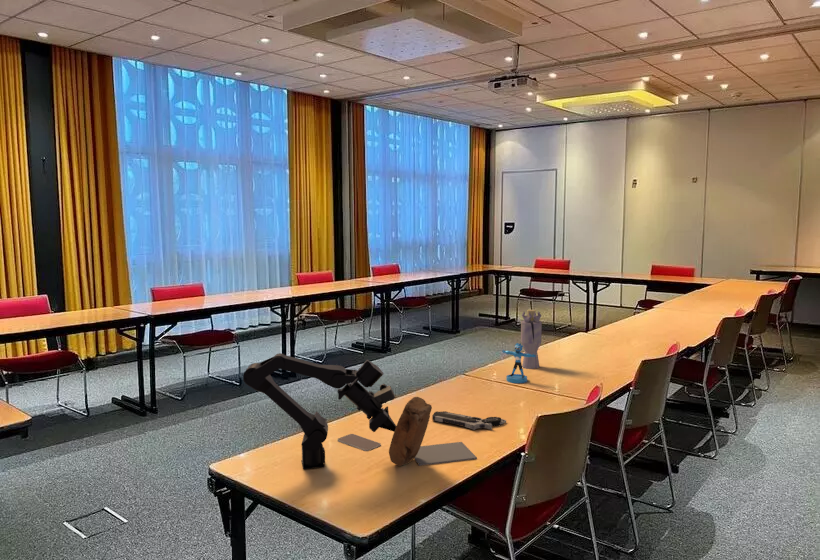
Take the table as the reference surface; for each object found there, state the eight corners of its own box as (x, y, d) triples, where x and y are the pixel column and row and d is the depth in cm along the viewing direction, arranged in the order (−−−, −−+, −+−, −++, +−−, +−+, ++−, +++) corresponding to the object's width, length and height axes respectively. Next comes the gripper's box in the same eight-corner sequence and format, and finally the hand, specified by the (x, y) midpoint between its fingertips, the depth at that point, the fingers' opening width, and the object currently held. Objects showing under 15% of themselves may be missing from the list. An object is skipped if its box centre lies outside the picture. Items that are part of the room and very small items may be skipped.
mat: (419, 465, 181) (419, 464, 181) (407, 449, 195) (407, 447, 195) (476, 459, 186) (476, 457, 186) (461, 443, 200) (461, 441, 200)
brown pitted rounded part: (400, 443, 191) (416, 392, 183) (419, 455, 188) (436, 404, 180) (382, 458, 181) (398, 406, 174) (402, 471, 179) (420, 418, 171)
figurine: (496, 380, 279) (496, 342, 278) (506, 375, 287) (506, 339, 285) (530, 386, 268) (531, 347, 267) (540, 381, 276) (540, 343, 274)
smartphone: (366, 450, 193) (335, 439, 203) (366, 453, 193) (336, 441, 203) (382, 443, 199) (351, 433, 208) (382, 446, 199) (351, 435, 208)
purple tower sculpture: (529, 363, 312) (529, 307, 309) (545, 366, 304) (545, 309, 301) (516, 366, 305) (517, 309, 302) (532, 370, 297) (533, 311, 294)
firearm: (450, 405, 234) (430, 413, 221) (507, 416, 220) (489, 426, 208) (449, 413, 234) (430, 422, 221) (506, 425, 220) (489, 435, 208)
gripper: (379, 387, 173) (417, 422, 175) (378, 371, 191) (413, 403, 193) (353, 414, 173) (391, 449, 175) (354, 396, 192) (389, 427, 193)
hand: (397, 430), depth 184 cm, fingers closed
